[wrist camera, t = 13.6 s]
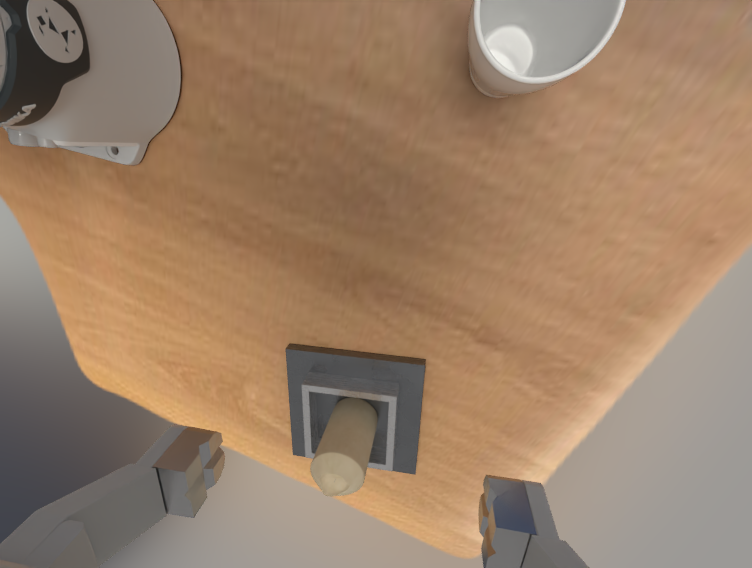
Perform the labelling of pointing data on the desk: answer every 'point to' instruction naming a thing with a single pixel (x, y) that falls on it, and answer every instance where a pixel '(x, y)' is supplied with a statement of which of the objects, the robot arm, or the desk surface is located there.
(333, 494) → the candle
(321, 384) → the candle stand
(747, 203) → the desk surface
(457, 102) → the desk surface
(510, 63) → the drinking glass
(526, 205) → the desk surface
